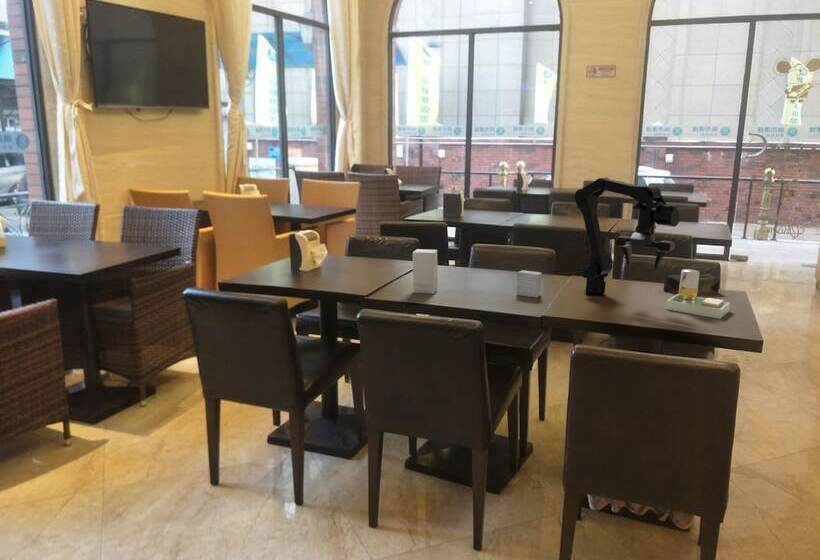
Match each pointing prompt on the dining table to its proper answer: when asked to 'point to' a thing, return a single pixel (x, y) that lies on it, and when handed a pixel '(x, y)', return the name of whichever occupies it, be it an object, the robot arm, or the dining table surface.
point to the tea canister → (688, 286)
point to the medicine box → (529, 283)
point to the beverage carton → (705, 284)
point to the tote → (697, 308)
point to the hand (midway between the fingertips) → (642, 267)
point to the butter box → (713, 303)
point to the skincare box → (425, 271)
